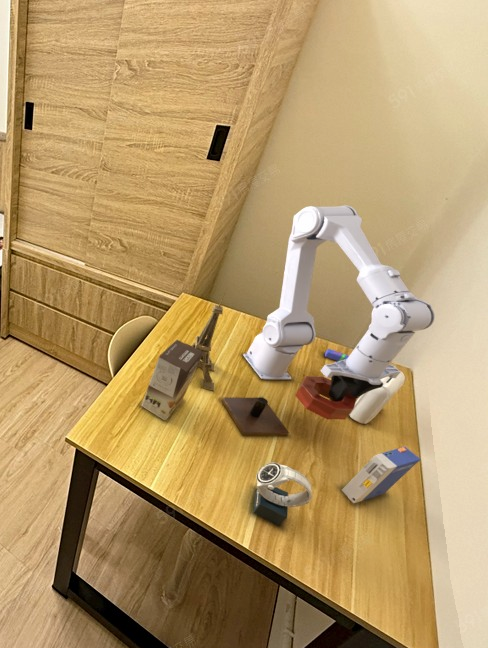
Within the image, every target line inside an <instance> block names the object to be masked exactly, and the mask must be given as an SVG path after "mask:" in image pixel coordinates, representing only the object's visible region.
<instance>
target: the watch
mask: <svg viewBox="0 0 488 648" xmlns="http://www.w3.org/2000/svg"><path fill="white" fill-rule="evenodd" d="M256 481H257V482H256V488H255V491H254V501H253V502H254V503H253V511H252V512H253V514H254V515H256V516H259V517H260V518H263V519H265V520H266V521H268V522H271V523H272V524H275V525H277V526H279V527H281V526H282V524H283V523H284V522H285V521H286V520H287V519H288V512H289V511H288V508H289V509H291V508H298V507H302V506H305V505H308V504H310V501H311V500H312V498H313V497H312V496H313V495H312V484H311V481H309V479H308V478H307V477H306V476H305V475H304V474H303V473H301V472H300V471H298V470H296V469H294V468H291V467H290V466H288V465H284V464H279V463H278V462H275V461H273V462H272V461H271V462H268V463H266V464H264V465H263V466H261V467H260V468H259V469H258V471H257V473H256ZM289 481H293V482H295V483H297V484H299V486H301V487H303V488H304V489H305V490H302V491H300V492H298V493H292V494H289V492H288V491H286V490H284V489H281V488H279V486H281V485H282V484H284V483H288V482H289Z"/></svg>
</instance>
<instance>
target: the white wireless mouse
mask: <svg viewBox="0 0 488 648" xmlns="http://www.w3.org/2000/svg"><path fill="white" fill-rule="evenodd" d="M380 380H381V381H382V383H383V386H382V387H381V388H377V389H374V390H371V391H369V392H366V393H365V394H363V395H361V396H360V397H358V398H357V399H356V402H355V406H354V409H353V411H352V412H351V413H350V414H349V415H348V416H349V417H350V418H351V419H352V420H354V421H355V422H357V423H360V424H363V425H366V424H368V423H370V422H371V421H373V419H374V418H375V417H376V416H377V415H378V414H379V413H380V412H381V410H382V409H383V408H384V407H385V406H386V405H387V403H388V402H389V401H390V400H391V399H392V398H393V397H394V396H395V395H396V393H398V391H399V390H400V389H401V387H402V386H403V385H404V383H405V381H406V377H405V374H404V373H403V371H401V372H400V373H399V375H398V376H397V377H396V378H390V377H389V376H388V377H385V378H383V379H380Z"/></svg>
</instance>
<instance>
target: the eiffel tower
mask: <svg viewBox="0 0 488 648" xmlns="http://www.w3.org/2000/svg"><path fill="white" fill-rule="evenodd" d="M225 295H226V293H223V296H222V298H221V300H220V302H219V305H217V304H214V306H212V307H211V308H212V309H211V312H212V313H211V315H210V317H209V319H208V320H207V322H206V324H205V326H204V327H203V329H202V331H201V332H200V334H199V335H196V336H195V339H194V342H193V343H192V344H190V346H192V347H194V348H196V349H198V350H200V351H202V352H203V355H202V357H201V359H200V361H199V364H198V366H197V368H198V369H199V370H201V371H202V376H203V377H202V379H201V389H204V390H207V391H211V392H215V382H213V379H212V377H211V375H210V371H212V372H214V371H215V363H213V362H212V359H211V357H210V356H211V355H210V354H211V353H210V352H211V351H212V340H213V337H214V334H215V331H216V327H217V323H218V320H219V316H220V315H223V311H224V307H223V306H222V302H223V299H224V297H225Z"/></svg>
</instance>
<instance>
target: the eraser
mask: <svg viewBox="0 0 488 648" xmlns="http://www.w3.org/2000/svg"><path fill="white" fill-rule="evenodd" d="M349 356H350V355H348V354H345V353H342V352H340V351H337V350H334V349H331V348H327V349H326V351H325V353H324V358H327V359H330V360H334V361H335V362H338V361H341V360H344V359H347V358H348V357H349Z"/></svg>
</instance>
